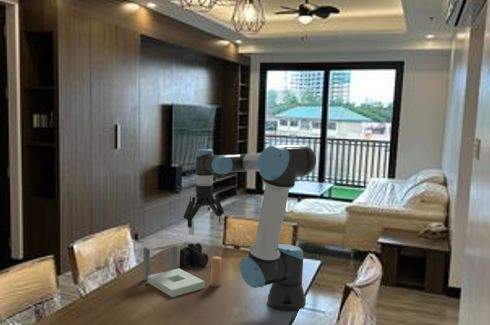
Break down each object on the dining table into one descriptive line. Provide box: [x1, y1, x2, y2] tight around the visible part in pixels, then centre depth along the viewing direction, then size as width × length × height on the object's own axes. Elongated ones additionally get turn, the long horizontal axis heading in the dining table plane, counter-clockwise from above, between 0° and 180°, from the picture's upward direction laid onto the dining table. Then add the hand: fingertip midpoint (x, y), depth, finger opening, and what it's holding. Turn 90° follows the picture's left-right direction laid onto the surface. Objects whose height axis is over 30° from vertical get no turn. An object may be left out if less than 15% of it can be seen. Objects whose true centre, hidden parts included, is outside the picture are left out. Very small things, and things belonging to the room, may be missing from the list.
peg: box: [210, 256, 222, 288], centre depth 193 cm, size 4×4×12 cm
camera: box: [179, 242, 209, 269], centre depth 218 cm, size 14×11×10 cm
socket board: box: [147, 267, 206, 298], centre depth 192 cm, size 20×16×3 cm
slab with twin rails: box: [142, 238, 185, 282], centre depth 199 cm, size 8×16×16 cm, turn 131°
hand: (204, 232), depth 197 cm, fingers open, 13 cm apart
